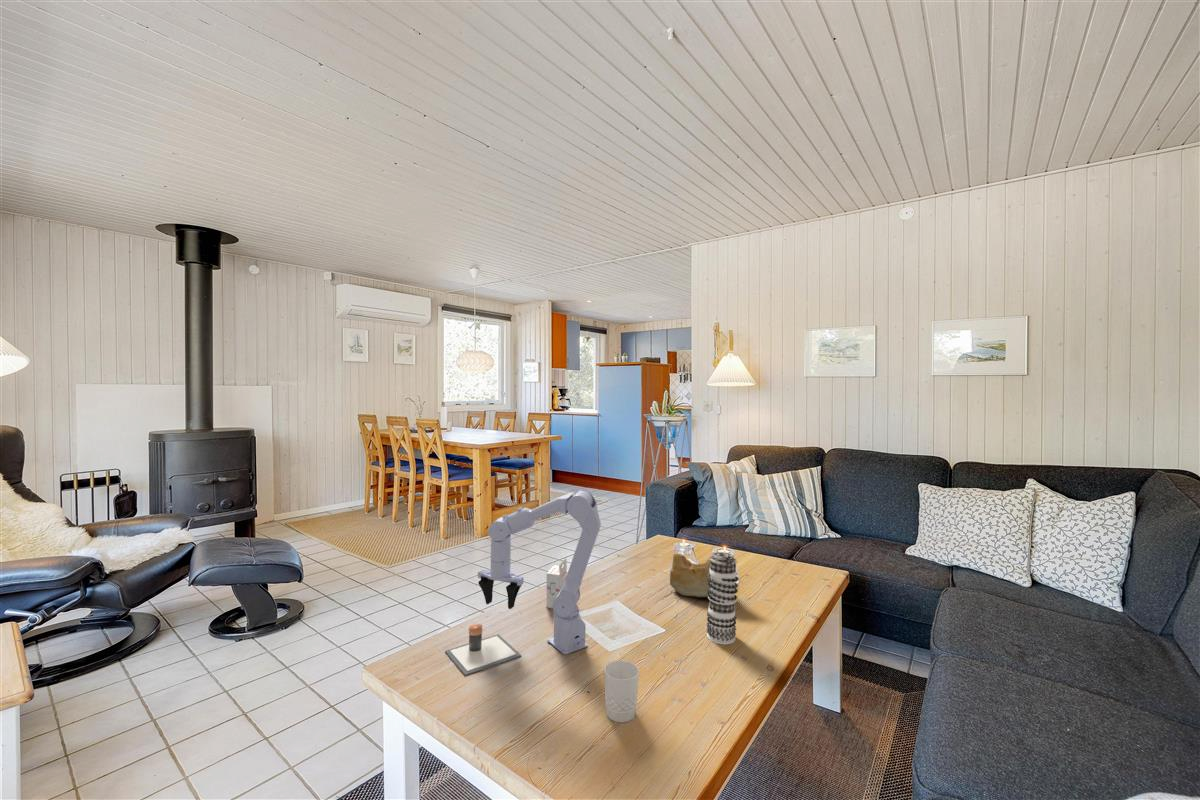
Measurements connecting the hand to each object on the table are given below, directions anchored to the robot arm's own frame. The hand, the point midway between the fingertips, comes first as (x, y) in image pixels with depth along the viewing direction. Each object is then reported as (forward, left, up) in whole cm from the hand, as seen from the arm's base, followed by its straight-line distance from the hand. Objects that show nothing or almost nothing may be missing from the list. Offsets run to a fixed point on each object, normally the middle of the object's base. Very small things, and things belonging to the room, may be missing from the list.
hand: (499, 605), depth 145 cm
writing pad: (-6, +8, -9) cm, 14 cm away
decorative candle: (-38, -54, -10) cm, 67 cm away
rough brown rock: (-14, -75, -10) cm, 77 cm away
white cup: (-47, -7, -10) cm, 49 cm away
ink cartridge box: (+10, -26, -10) cm, 29 cm away
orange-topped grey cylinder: (-3, +9, -9) cm, 13 cm away
